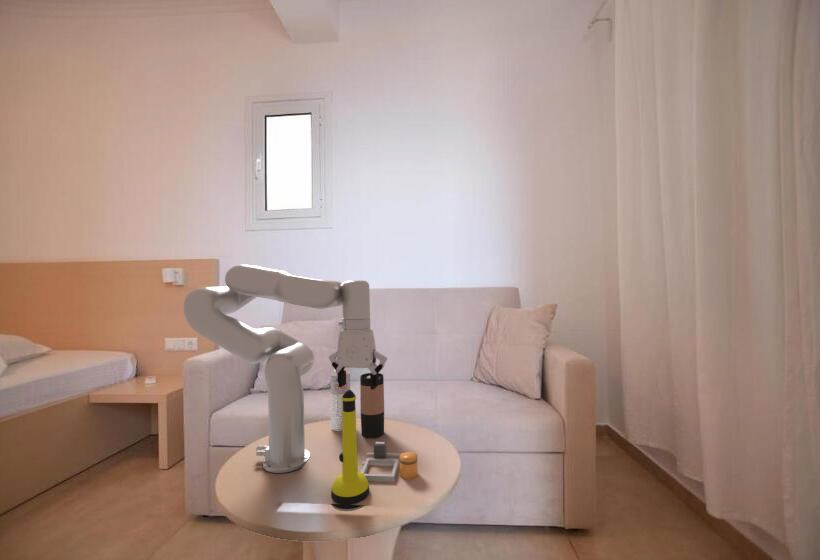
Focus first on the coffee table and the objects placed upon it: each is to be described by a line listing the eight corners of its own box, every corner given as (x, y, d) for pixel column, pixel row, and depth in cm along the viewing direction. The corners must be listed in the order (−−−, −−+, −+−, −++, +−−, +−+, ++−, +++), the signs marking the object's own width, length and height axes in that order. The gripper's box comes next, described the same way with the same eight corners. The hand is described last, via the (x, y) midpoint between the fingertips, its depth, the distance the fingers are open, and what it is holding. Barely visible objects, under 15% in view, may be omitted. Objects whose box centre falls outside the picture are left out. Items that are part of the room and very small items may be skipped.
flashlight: (369, 384, 86) (333, 384, 86) (366, 395, 77) (325, 396, 77) (371, 487, 86) (334, 488, 86) (368, 510, 77) (326, 511, 77)
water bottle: (327, 434, 117) (326, 358, 118) (335, 426, 124) (334, 354, 125) (347, 435, 116) (346, 359, 117) (353, 427, 123) (352, 355, 123)
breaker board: (338, 485, 87) (338, 474, 87) (353, 457, 101) (353, 448, 101) (395, 487, 86) (394, 476, 86) (401, 459, 100) (401, 449, 100)
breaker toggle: (373, 462, 95) (373, 445, 96) (376, 456, 98) (375, 440, 98) (384, 462, 95) (384, 445, 95) (386, 457, 98) (386, 440, 98)
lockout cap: (398, 484, 87) (398, 460, 87) (401, 474, 91) (400, 451, 91) (417, 485, 86) (416, 460, 87) (418, 475, 91) (417, 451, 91)
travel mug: (364, 432, 118) (363, 372, 119) (386, 433, 117) (385, 372, 118) (358, 442, 111) (357, 378, 111) (381, 443, 110) (380, 378, 110)
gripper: (322, 326, 97) (323, 388, 97) (380, 327, 92) (381, 393, 91) (335, 323, 104) (337, 381, 104) (390, 323, 99) (392, 385, 99)
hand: (358, 387), depth 98 cm, fingers open, 9 cm apart
